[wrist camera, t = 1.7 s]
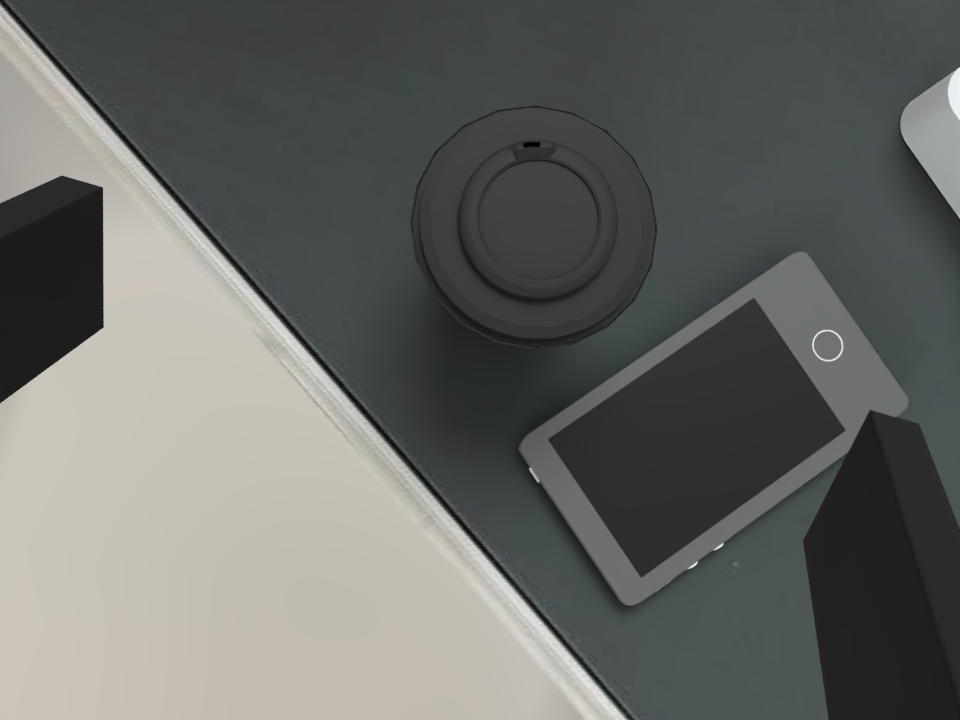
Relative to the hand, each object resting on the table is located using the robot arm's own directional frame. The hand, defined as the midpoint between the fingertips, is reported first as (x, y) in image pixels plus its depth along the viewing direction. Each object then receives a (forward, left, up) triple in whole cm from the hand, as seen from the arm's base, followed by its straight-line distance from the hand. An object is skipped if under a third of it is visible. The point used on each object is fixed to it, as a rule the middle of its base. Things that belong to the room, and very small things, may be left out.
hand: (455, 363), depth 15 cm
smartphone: (+12, +3, -22) cm, 25 cm away
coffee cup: (+2, +7, -23) cm, 24 cm away
